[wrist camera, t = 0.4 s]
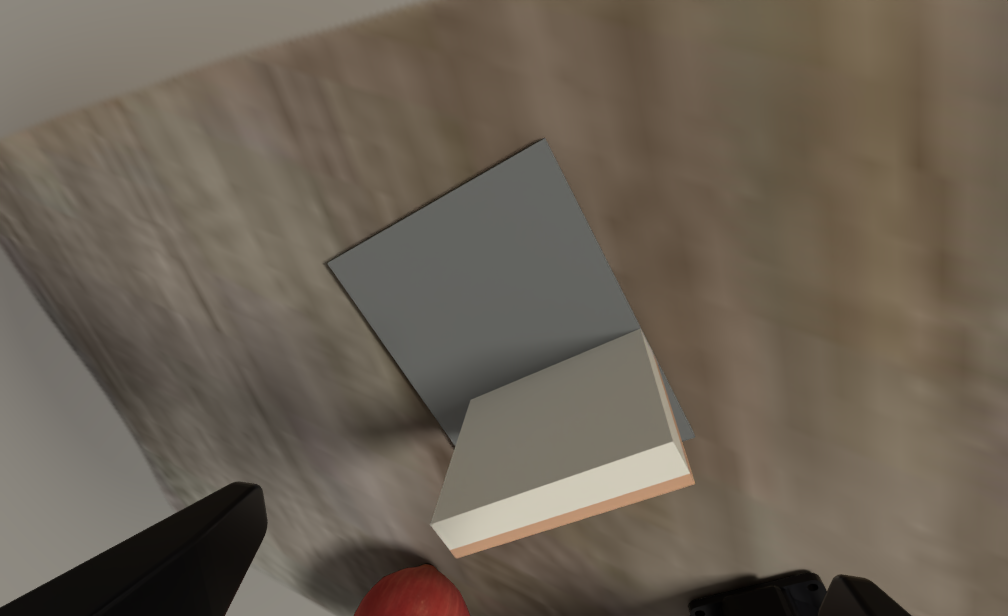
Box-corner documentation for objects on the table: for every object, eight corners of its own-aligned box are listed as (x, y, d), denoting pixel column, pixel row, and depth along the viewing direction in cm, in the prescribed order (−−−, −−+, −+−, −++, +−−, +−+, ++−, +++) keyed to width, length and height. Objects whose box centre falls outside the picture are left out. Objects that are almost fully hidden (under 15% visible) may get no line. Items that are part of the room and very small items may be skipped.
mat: (693, 431, 22) (695, 437, 22) (497, 498, 25) (496, 504, 24) (544, 137, 18) (544, 138, 17) (331, 260, 21) (327, 263, 20)
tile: (656, 360, 20) (695, 484, 14) (488, 426, 23) (456, 558, 16) (640, 328, 20) (673, 440, 13) (470, 399, 22) (430, 524, 16)
